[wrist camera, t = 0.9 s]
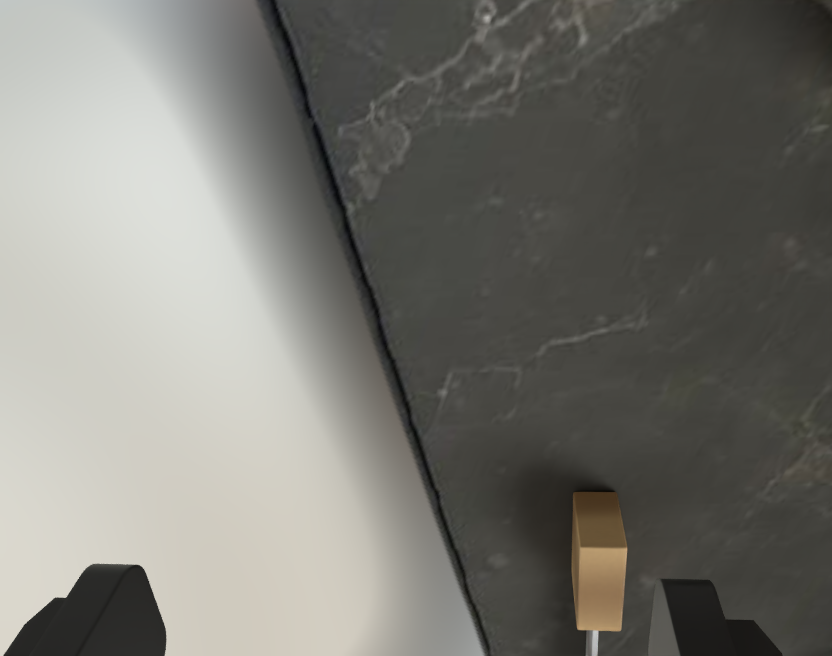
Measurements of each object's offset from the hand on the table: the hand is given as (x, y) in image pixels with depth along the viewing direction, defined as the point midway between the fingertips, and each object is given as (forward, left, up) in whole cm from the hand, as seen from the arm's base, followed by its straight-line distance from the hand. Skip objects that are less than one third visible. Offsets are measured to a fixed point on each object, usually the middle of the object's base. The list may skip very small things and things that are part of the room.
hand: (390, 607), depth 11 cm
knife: (+25, +6, -21) cm, 33 cm away
